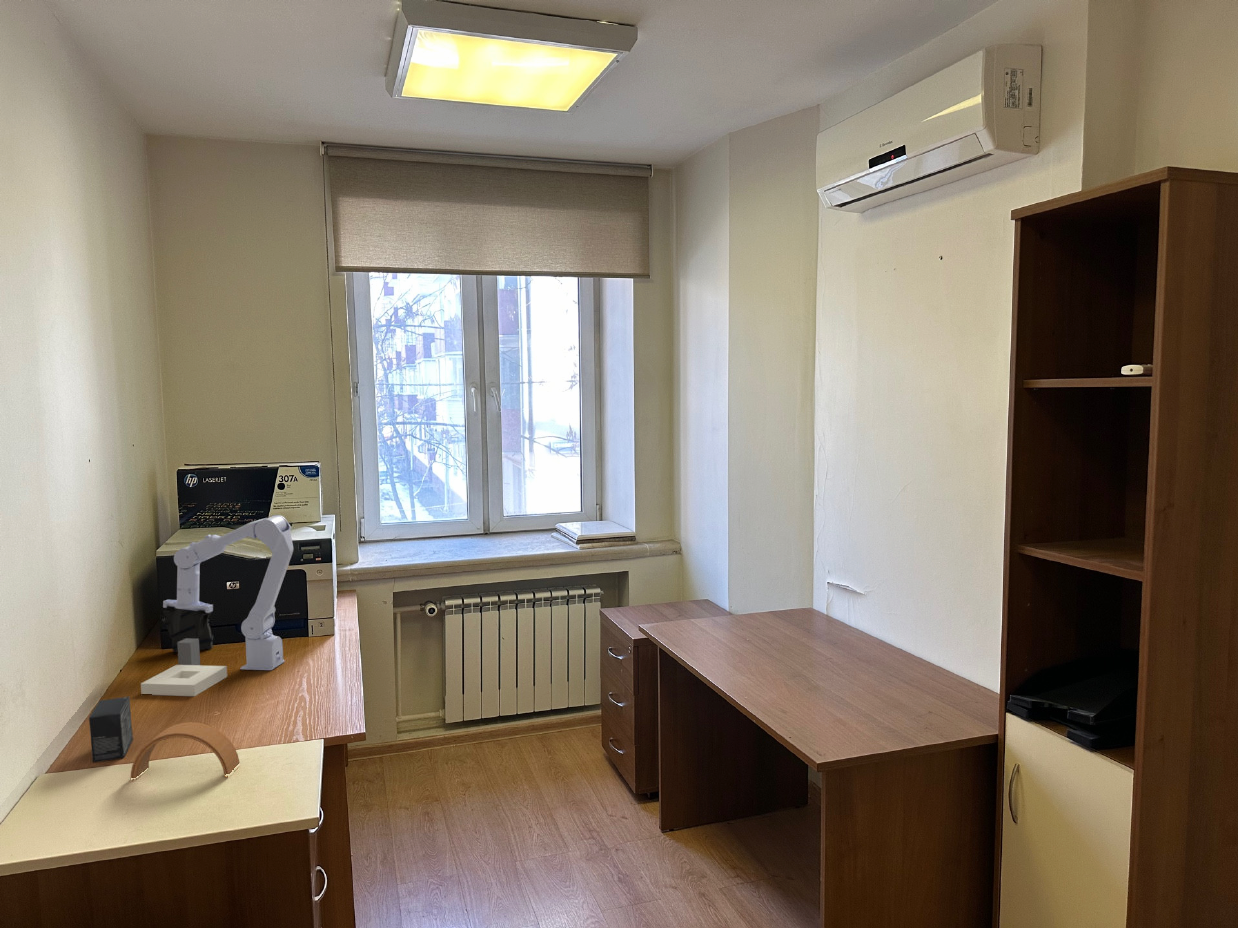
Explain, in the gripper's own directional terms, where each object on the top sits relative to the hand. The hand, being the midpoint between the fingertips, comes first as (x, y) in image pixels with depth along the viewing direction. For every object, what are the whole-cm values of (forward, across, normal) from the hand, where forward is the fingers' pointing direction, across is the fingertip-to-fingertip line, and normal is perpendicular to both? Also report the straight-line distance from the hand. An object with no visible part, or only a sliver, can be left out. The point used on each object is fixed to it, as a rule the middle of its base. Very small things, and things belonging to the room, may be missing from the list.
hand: (187, 633), depth 243 cm
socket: (+9, +10, -13) cm, 19 cm away
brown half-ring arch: (+8, +45, -60) cm, 76 cm away
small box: (+9, +22, -53) cm, 58 cm away
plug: (+10, +1, 0) cm, 10 cm away
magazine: (+11, -10, +14) cm, 20 cm away
